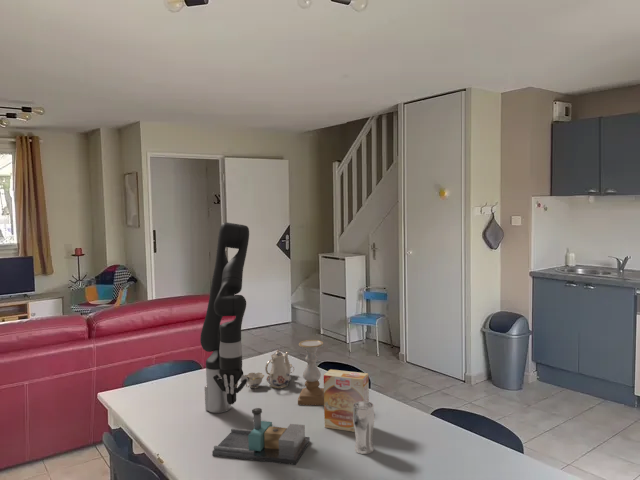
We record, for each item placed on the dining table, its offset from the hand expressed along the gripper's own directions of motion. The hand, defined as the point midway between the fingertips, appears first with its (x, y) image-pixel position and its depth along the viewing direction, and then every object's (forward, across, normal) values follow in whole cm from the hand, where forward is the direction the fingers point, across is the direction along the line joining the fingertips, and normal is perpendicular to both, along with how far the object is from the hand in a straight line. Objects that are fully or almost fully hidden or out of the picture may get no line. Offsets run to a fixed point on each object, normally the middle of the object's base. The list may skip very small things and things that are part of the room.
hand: (231, 403), depth 174 cm
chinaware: (+14, +8, -57) cm, 60 cm away
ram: (+11, -11, +2) cm, 16 cm away
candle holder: (+14, -15, -42) cm, 47 cm away
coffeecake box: (+13, -35, -21) cm, 43 cm away
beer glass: (+12, -45, -5) cm, 47 cm away
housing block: (+11, -17, +2) cm, 20 cm away
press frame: (+13, -12, +2) cm, 18 cm away
